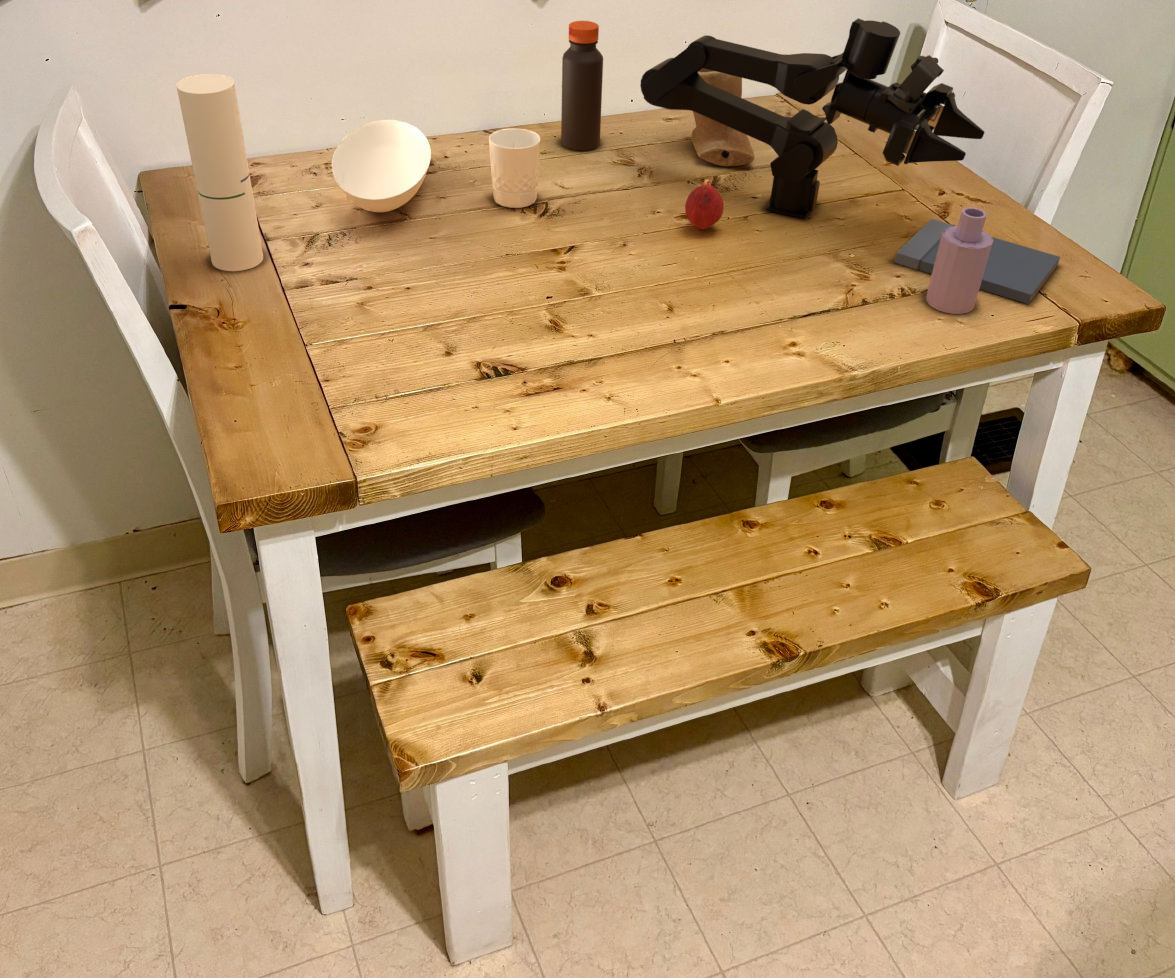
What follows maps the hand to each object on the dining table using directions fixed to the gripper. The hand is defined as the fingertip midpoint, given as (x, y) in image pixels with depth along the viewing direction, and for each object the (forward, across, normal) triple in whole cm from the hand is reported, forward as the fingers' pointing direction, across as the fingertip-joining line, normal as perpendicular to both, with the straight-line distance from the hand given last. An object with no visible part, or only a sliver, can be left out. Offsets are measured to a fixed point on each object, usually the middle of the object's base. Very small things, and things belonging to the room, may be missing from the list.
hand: (974, 145), depth 159 cm
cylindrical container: (-80, -62, +30) cm, 106 cm away
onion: (-30, -15, +22) cm, 40 cm away
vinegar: (-62, +2, +27) cm, 68 cm away
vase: (+8, -15, +15) cm, 23 cm away
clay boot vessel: (-42, +13, +24) cm, 50 cm away
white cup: (-59, -23, +27) cm, 69 cm away
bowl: (-77, -33, +30) cm, 89 cm away
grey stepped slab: (+8, -2, +15) cm, 17 cm away
